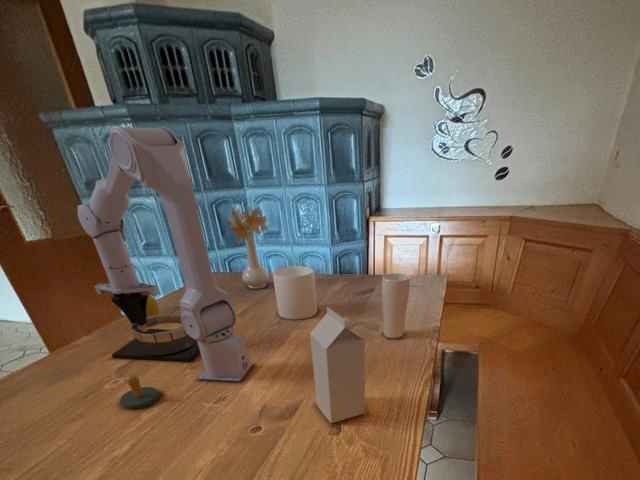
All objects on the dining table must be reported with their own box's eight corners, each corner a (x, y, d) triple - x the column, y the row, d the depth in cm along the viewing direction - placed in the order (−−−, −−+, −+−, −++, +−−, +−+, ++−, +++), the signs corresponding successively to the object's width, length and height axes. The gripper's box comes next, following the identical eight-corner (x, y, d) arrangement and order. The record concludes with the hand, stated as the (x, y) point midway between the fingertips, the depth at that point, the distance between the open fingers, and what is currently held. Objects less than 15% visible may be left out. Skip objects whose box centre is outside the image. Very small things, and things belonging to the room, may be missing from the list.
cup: (324, 310, 118) (321, 269, 111) (300, 322, 110) (295, 279, 103) (295, 303, 123) (291, 264, 116) (270, 315, 115) (263, 273, 108)
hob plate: (218, 335, 104) (217, 330, 103) (190, 362, 91) (188, 357, 90) (150, 332, 106) (148, 327, 105) (113, 358, 93) (110, 353, 92)
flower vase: (238, 296, 130) (221, 212, 115) (241, 280, 144) (226, 204, 129) (277, 293, 132) (265, 210, 117) (276, 278, 146) (265, 202, 131)
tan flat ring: (202, 322, 99) (200, 315, 98) (176, 344, 89) (173, 336, 88) (153, 319, 101) (151, 311, 99) (122, 340, 90) (119, 332, 89)
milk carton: (331, 424, 70) (324, 324, 59) (316, 405, 75) (307, 310, 64) (365, 414, 73) (365, 316, 61) (348, 396, 78) (345, 303, 66)
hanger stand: (166, 391, 80) (157, 367, 77) (147, 410, 75) (136, 385, 71) (135, 390, 81) (125, 366, 78) (114, 408, 75) (102, 383, 72)
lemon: (155, 325, 110) (145, 297, 105) (138, 323, 111) (127, 295, 106) (166, 318, 114) (157, 290, 109) (150, 316, 115) (140, 289, 110)
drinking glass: (377, 338, 101) (378, 279, 92) (385, 328, 106) (387, 271, 97) (401, 341, 99) (405, 282, 90) (409, 332, 104) (413, 274, 95)
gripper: (76, 269, 84) (102, 329, 92) (137, 271, 82) (158, 331, 91) (97, 261, 89) (120, 318, 98) (155, 262, 88) (173, 320, 96)
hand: (139, 323), depth 95 cm, fingers closed on tan flat ring, 1 cm apart
